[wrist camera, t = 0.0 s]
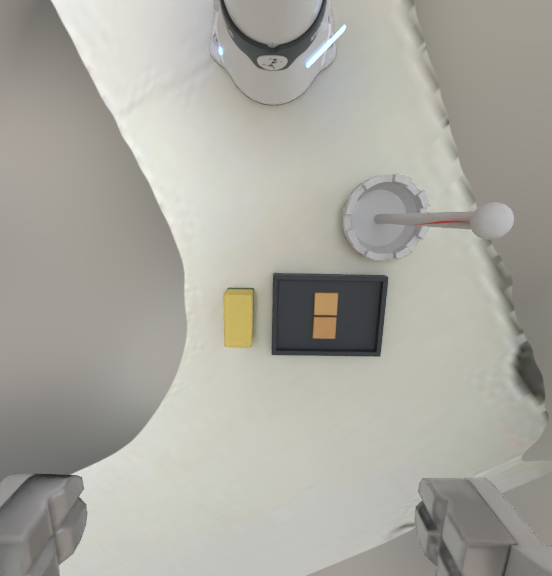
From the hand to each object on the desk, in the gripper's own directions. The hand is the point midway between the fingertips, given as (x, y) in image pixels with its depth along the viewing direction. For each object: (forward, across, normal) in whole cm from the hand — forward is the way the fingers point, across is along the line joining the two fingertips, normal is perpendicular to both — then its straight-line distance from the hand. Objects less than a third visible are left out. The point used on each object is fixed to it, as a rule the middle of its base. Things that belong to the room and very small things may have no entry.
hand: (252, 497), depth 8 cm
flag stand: (+48, -18, -7) cm, 52 cm away
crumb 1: (+47, -10, +8) cm, 49 cm away
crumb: (+47, -10, +12) cm, 50 cm away
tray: (+48, -10, +10) cm, 50 cm away
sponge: (+48, +5, +10) cm, 49 cm away
